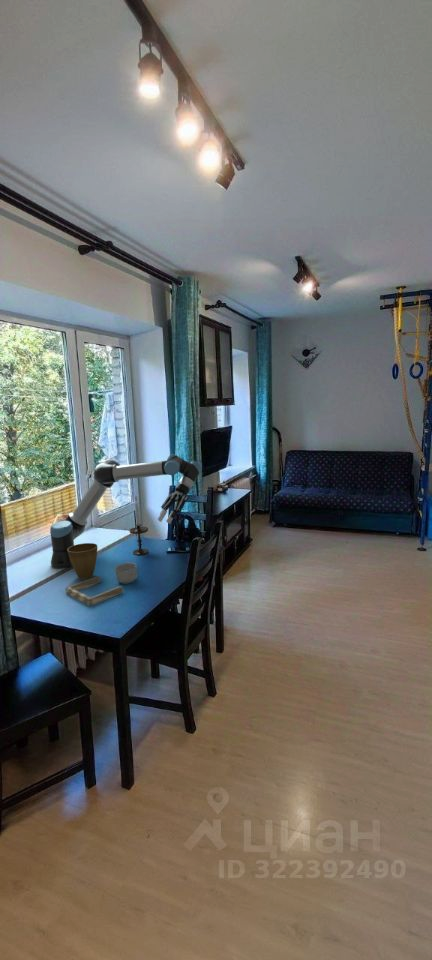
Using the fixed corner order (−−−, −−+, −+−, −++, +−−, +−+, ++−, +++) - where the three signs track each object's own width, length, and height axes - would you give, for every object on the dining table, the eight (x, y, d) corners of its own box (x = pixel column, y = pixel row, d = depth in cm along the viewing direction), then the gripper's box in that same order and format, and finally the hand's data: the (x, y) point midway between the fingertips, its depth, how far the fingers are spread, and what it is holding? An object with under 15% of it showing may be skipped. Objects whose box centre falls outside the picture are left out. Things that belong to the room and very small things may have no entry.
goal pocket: (66, 593, 214) (65, 587, 214) (98, 581, 226) (98, 576, 226) (90, 605, 200) (89, 599, 199) (122, 592, 212) (122, 586, 212)
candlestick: (148, 555, 261) (143, 496, 255) (129, 556, 261) (124, 497, 255) (151, 549, 272) (146, 492, 265) (133, 550, 272) (128, 493, 265)
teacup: (133, 586, 219) (131, 570, 217) (112, 585, 221) (110, 569, 220) (143, 575, 232) (141, 560, 231) (123, 574, 235) (122, 559, 233)
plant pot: (106, 575, 234) (103, 546, 231) (80, 584, 224) (77, 554, 221) (90, 569, 244) (87, 540, 241) (65, 577, 234) (61, 548, 231)
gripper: (200, 492, 245) (179, 528, 236) (176, 488, 258) (156, 522, 249) (192, 484, 240) (171, 520, 231) (168, 480, 253) (147, 515, 245)
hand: (163, 521), depth 240 cm, fingers open, 6 cm apart
